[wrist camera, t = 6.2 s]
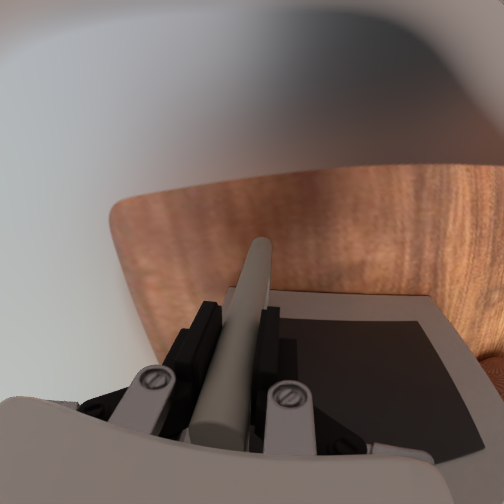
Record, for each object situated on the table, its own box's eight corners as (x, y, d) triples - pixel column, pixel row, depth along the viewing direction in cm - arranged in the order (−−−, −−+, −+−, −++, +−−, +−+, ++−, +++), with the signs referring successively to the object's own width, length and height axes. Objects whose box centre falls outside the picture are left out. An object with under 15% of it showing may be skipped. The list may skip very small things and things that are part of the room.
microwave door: (228, 224, 24) (68, 473, 4) (443, 239, 23) (609, 400, 2) (229, 302, 27) (146, 539, 7) (425, 309, 25) (525, 492, 5)
